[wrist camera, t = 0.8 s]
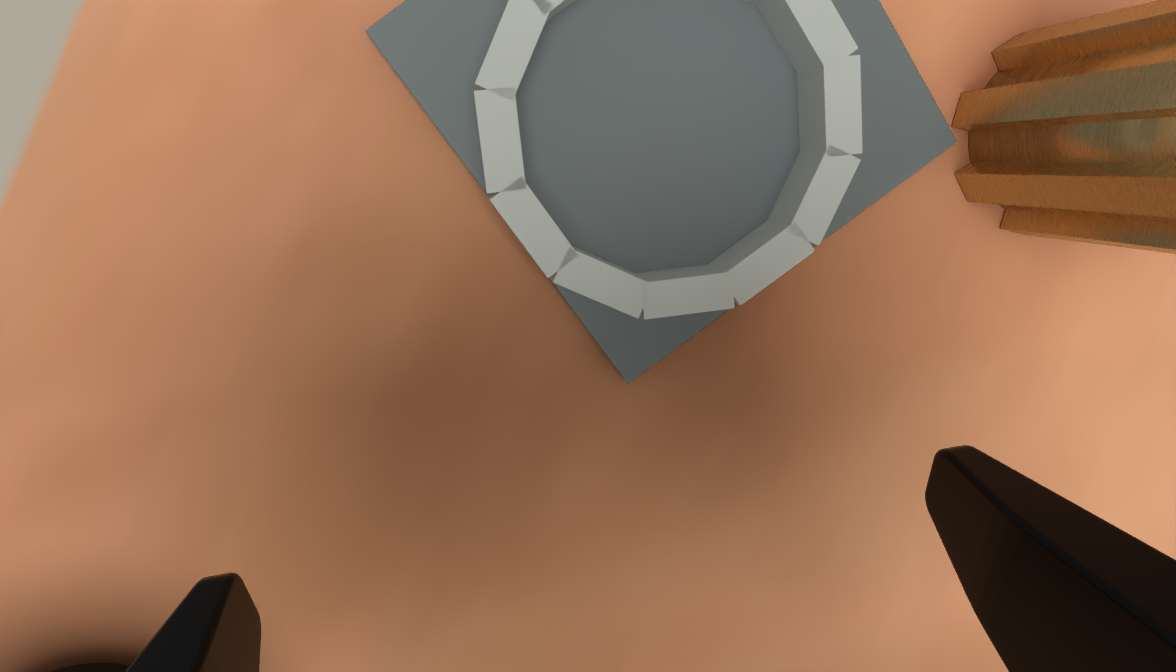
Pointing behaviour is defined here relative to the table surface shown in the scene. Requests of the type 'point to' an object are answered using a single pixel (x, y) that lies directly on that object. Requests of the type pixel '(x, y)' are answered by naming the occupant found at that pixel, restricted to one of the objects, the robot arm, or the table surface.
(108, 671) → the mug
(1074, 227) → the pinion gear
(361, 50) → the table surface
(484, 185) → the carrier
